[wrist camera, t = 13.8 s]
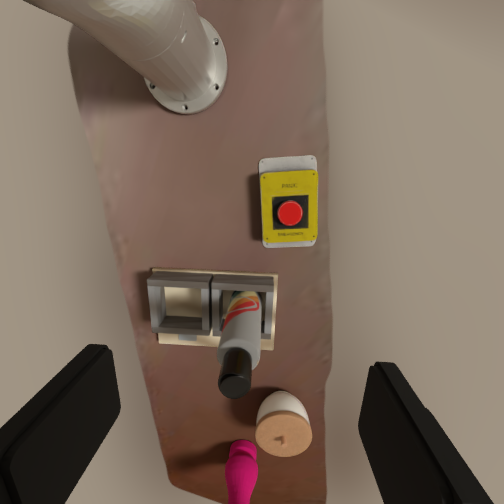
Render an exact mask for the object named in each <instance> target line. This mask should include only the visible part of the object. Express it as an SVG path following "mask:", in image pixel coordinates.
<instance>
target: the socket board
mask: <svg viewBox="0 0 504 504" xmlns="http://www.w3.org/2000/svg"><path fill="white" fill-rule="evenodd" d="M152 272H153V274H152V275H151V276H150V277H149V278H148V279H147V286H148V296H149V306H150V316H151V326H152V333H158V336H159V343H164V344H180V345H197V346H213V347H218V346H219V342H220V338H221V334H222V330H223V326H224V322H225V318H226V314H227V310H228V306H229V303H230V299H231V296H232V293H233V292H234V290H236V291H255V292H259V293H260V295H261V300H262V308H261V343H260V349H262V350H273V347H274V331H275V315H276V300H277V284H278V273H267V272H246V271H224V270H203V269H182V268H161V267H154V268H153V269H152Z"/></svg>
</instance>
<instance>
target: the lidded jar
mask: <svg viewBox="0 0 504 504" xmlns="http://www.w3.org/2000/svg"><path fill="white" fill-rule="evenodd" d="M255 437H256V441H257V443H258V444H259V446H260V447H261V448H262V449H263V450H264V451H266V452H268V453H270V454H272V455H275V456H280V457H289V456H294V455H297V454H300V453H301V452H303V451H304V450H306V449H307V447H308V446H309V445H310V443H311V440H312V431H311V427H310V423H309V419H308V416H307V413H306V410H305V408H304V406H303V405H302V403H301V402H300V401H299V400H298V399H297V398H296V397H295V396H293V395H292V394H290V393H289V392H286V391H276V392H274V393H272V394H271V395H269V396H268V397H267V398H266V399H265V400H264V401H263V402H262V404H261V406H260V408H259V411H258V415H257V421H256V429H255Z"/></svg>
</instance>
